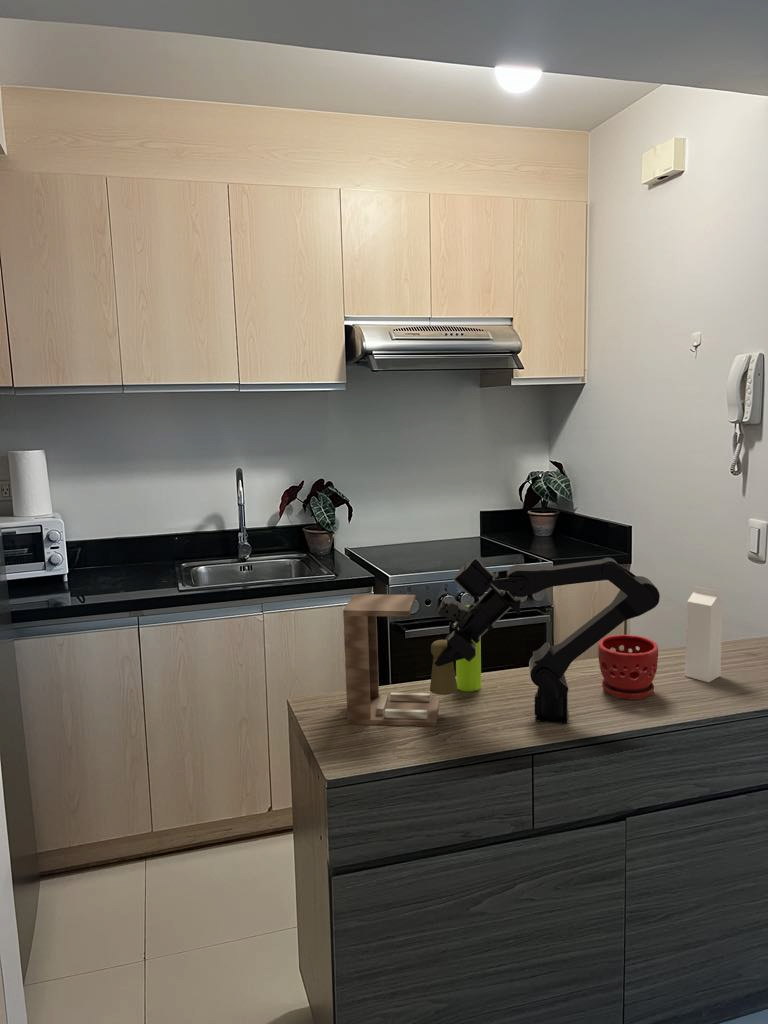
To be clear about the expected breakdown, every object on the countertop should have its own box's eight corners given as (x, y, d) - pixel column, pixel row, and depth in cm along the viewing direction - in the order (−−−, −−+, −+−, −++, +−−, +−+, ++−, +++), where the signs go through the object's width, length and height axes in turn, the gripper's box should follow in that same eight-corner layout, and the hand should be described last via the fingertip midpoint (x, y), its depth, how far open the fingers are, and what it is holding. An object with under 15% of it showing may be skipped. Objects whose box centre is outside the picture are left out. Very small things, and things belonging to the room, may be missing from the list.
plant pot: (591, 682, 182) (592, 634, 180) (647, 681, 182) (648, 633, 180) (605, 704, 169) (606, 653, 167) (665, 703, 169) (666, 652, 167)
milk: (696, 670, 188) (699, 583, 185) (720, 676, 183) (724, 587, 180) (684, 676, 184) (687, 588, 181) (708, 683, 180) (711, 592, 176)
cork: (448, 697, 162) (447, 647, 160) (424, 691, 165) (423, 642, 163) (462, 687, 166) (461, 639, 165) (438, 682, 170) (437, 635, 168)
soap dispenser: (466, 694, 177) (465, 612, 174) (452, 684, 183) (450, 604, 180) (488, 690, 179) (487, 608, 176) (473, 680, 185) (472, 601, 182)
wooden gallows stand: (439, 701, 173) (437, 594, 169) (435, 726, 161) (433, 611, 157) (357, 699, 176) (354, 594, 172) (347, 723, 163) (343, 610, 159)
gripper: (461, 575, 171) (414, 622, 174) (457, 597, 153) (405, 649, 156) (497, 609, 171) (449, 655, 174) (497, 635, 153) (444, 686, 156)
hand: (436, 660), depth 165 cm, fingers closed on cork, 5 cm apart
